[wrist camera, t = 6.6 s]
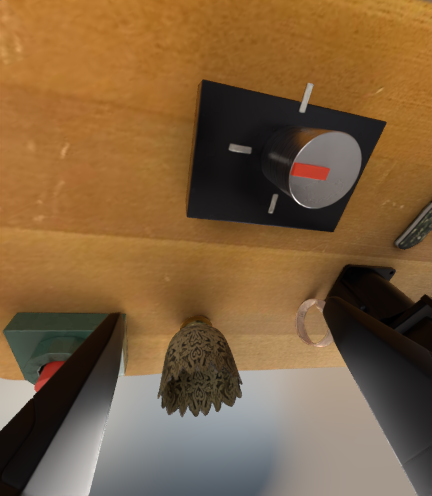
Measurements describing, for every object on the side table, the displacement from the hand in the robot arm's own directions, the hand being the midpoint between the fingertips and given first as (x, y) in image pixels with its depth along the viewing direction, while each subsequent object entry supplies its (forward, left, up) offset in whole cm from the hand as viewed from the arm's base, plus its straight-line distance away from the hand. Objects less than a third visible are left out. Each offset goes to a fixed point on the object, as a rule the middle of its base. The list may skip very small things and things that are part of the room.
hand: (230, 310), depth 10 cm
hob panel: (-4, -5, -11) cm, 13 cm away
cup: (-1, +14, -11) cm, 18 cm away
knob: (-4, -6, -8) cm, 11 cm away
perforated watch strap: (-14, +11, -11) cm, 21 cm away
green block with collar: (+12, +16, -11) cm, 23 cm away
